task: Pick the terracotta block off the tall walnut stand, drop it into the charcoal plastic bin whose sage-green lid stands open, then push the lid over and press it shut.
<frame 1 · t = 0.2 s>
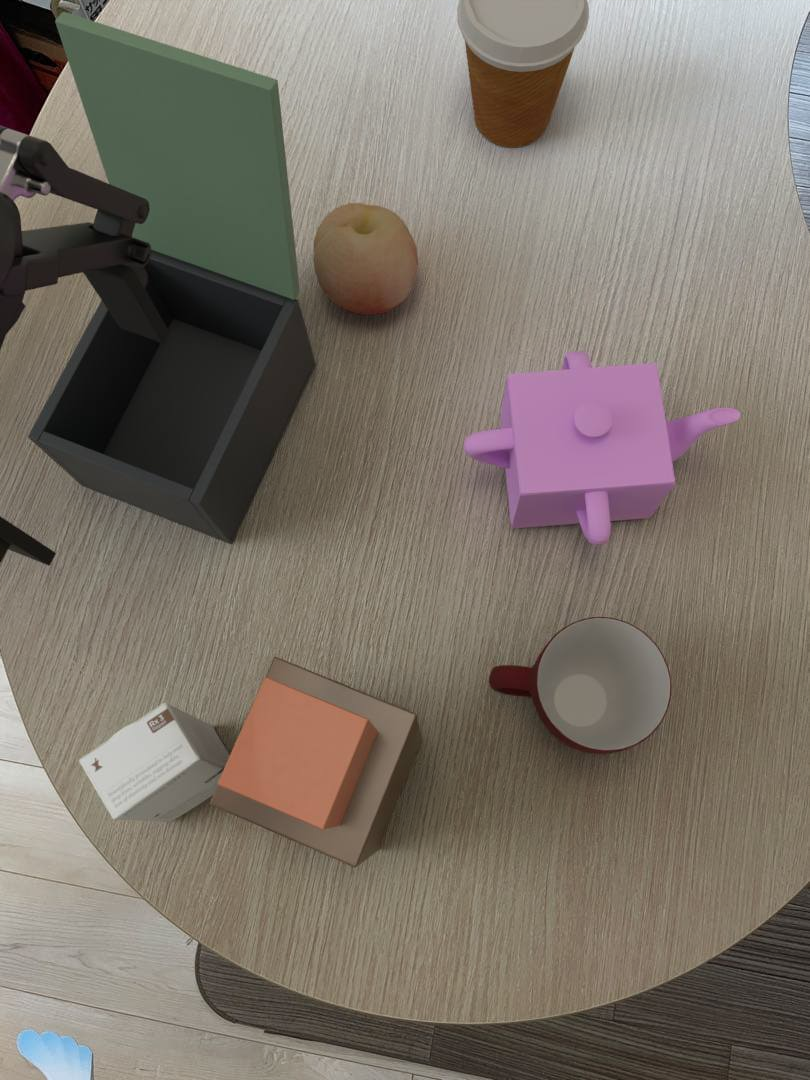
hand: (89, 437, 51), 20 cm above the table, tool pointing down, fingers open, 13 cm apart
stand: (347, 770, 65), on the table
mug: (561, 700, 66), on the table
block: (313, 758, 48), point 18 cm above the table, touching stand
disposable coffee cup: (511, 117, 79), on the table
cosmetic box: (192, 770, 65), on the table
fruit: (369, 288, 75), on the table
bin lid: (192, 172, 57), point 18 cm above the table, hinge at 100.0°
teapot: (582, 478, 70), on the table
bin: (200, 424, 72), on the table
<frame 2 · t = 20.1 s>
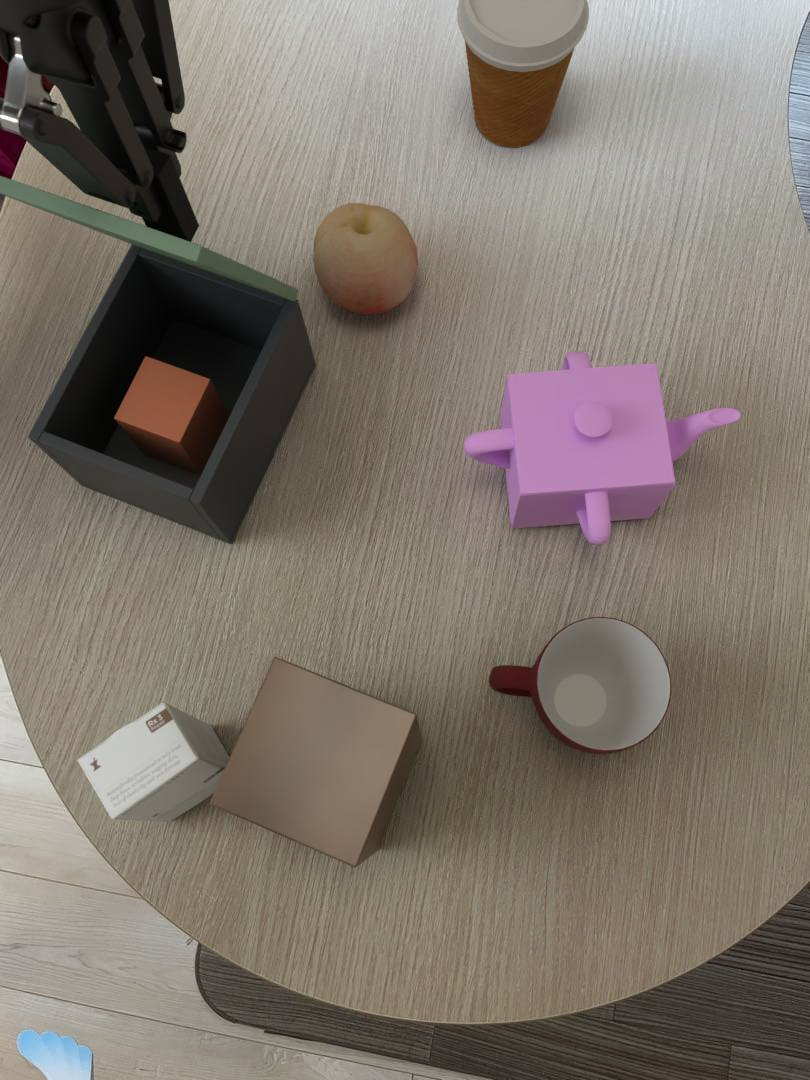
hand: (174, 228, 57), 17 cm above the table, tool pointing down, fingers closed
block: (188, 436, 71), point 1 cm above the table, touching bin
bin lid: (159, 244, 56), point 18 cm above the table, hinge at 65.5°, touching gripper
everything else where it was.
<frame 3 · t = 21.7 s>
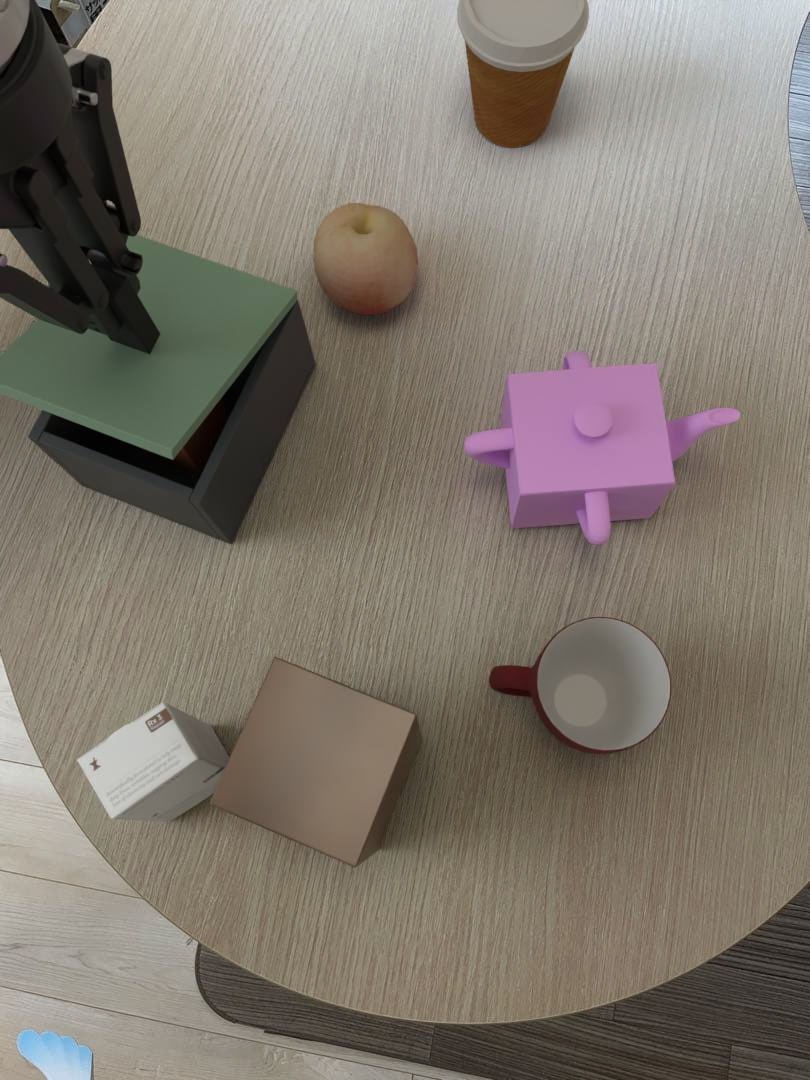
hand: (135, 336, 57), 15 cm above the table, tool pointing down, fingers closed
bin lid: (149, 335, 59), point 14 cm above the table, hinge at 24.4°, touching gripper
everything else where it was.
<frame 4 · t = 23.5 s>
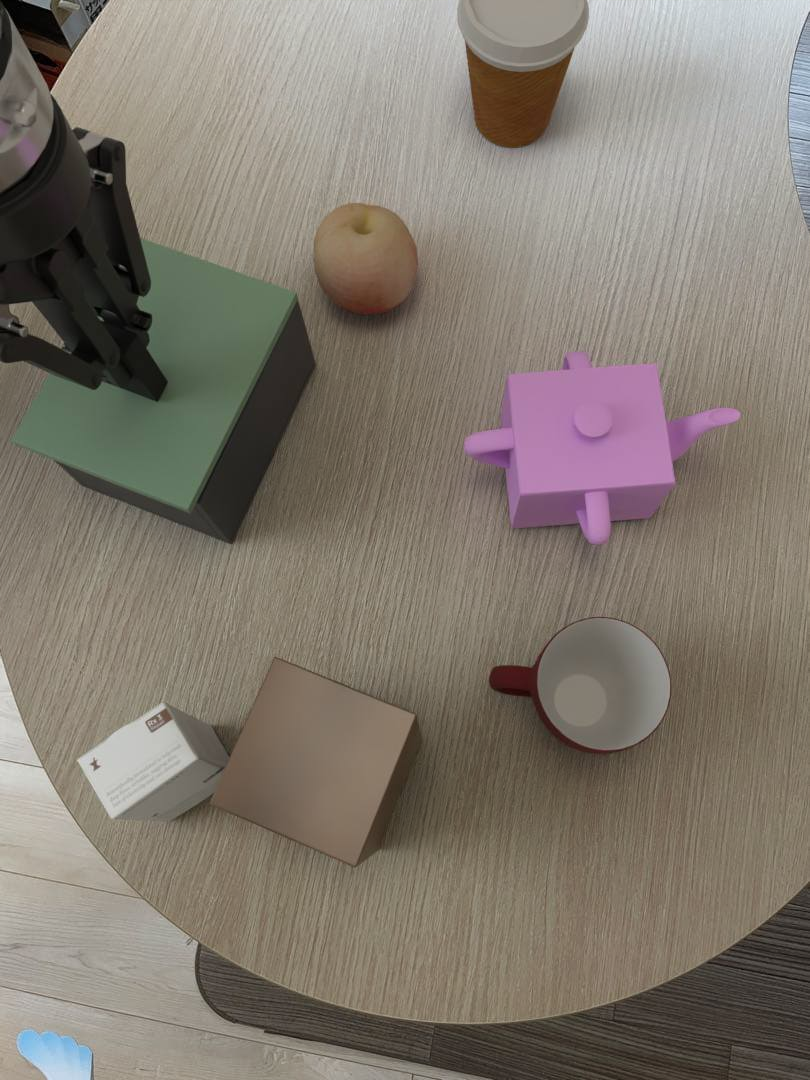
hand: (144, 384, 61), 11 cm above the table, tool pointing down, fingers closed
bin lid: (158, 367, 62), point 11 cm above the table, hinge at 2.0°, touching gripper
everything else where it was.
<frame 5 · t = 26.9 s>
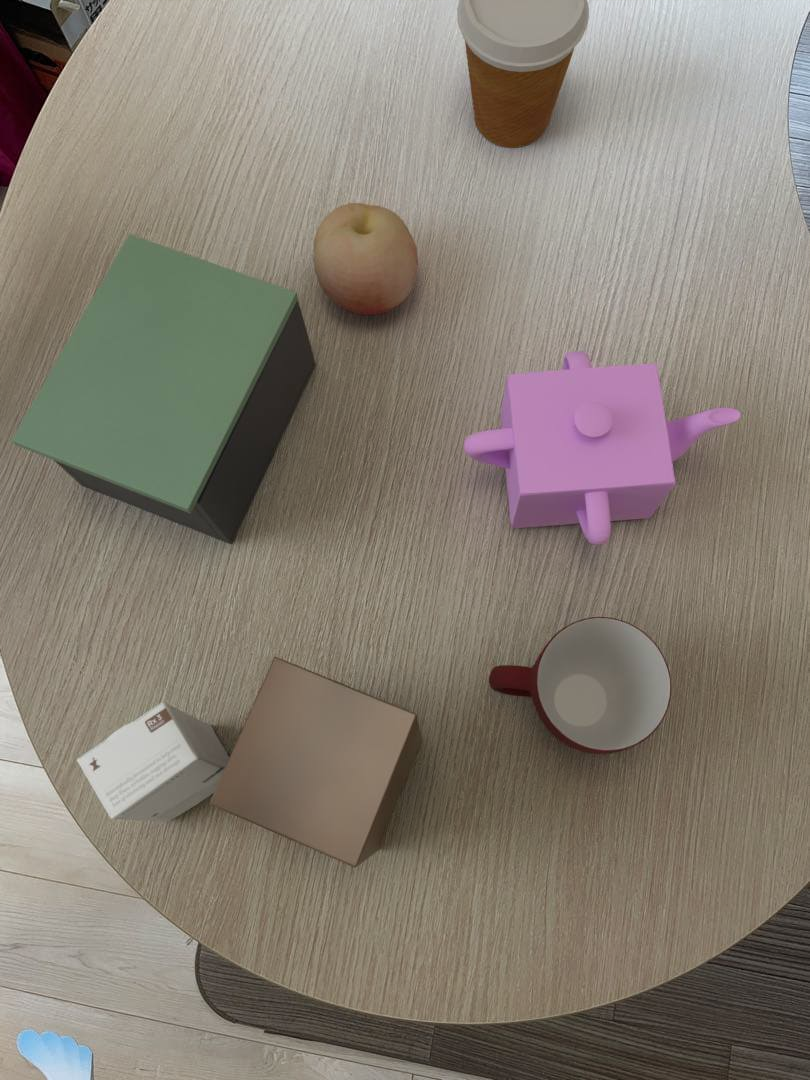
bin lid: (158, 367, 62), point 11 cm above the table, hinge at 2.0°
everything else where it was.
at the end: bin lid at +2° (first picture: +100°); block inside the target area in the bin (1.5 cm from its centre), point 0.8 cm above the bin's base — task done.
